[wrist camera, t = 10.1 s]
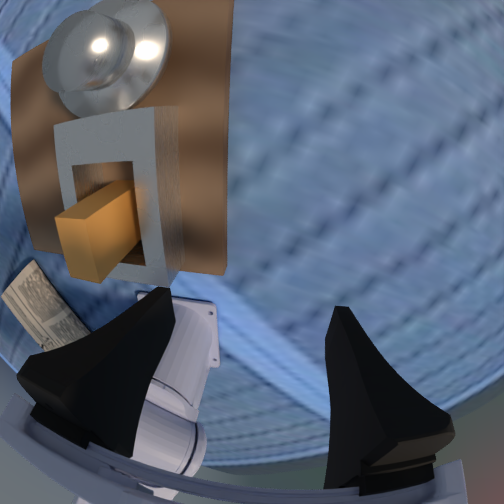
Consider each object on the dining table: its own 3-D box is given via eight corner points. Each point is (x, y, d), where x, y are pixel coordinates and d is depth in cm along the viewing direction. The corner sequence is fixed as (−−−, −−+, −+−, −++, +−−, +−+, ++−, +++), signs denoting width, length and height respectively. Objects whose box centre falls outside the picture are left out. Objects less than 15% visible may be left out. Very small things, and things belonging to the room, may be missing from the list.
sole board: (227, 265, 22) (223, 275, 21) (42, 243, 24) (34, 249, 23) (234, -4, 12) (230, -12, 11) (22, 60, 14) (12, 61, 13)
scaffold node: (189, 261, 21) (159, 312, 16) (100, 250, 22) (60, 290, 16) (188, -5, 11) (149, -40, 6) (86, 24, 12) (31, 14, 7)
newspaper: (198, 423, 40) (195, 436, 38) (130, 420, 47) (126, 430, 44) (38, 255, 26) (24, 267, 24) (5, 293, 32) (-4, 302, 30)
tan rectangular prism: (149, 231, 20) (100, 283, 14) (122, 228, 20) (70, 276, 14) (144, 180, 18) (85, 219, 12) (116, 180, 18) (54, 217, 12)
